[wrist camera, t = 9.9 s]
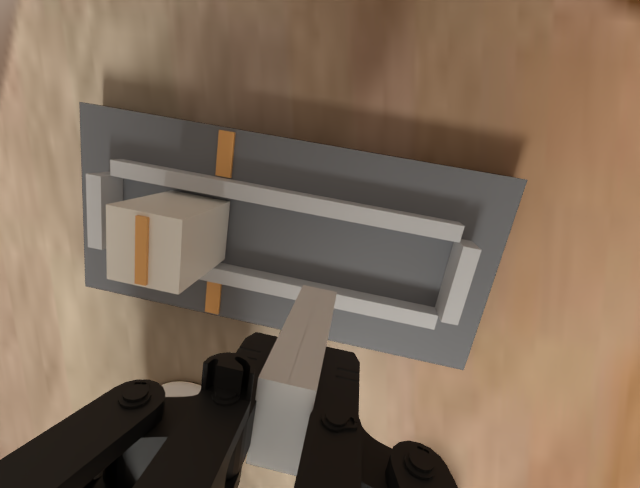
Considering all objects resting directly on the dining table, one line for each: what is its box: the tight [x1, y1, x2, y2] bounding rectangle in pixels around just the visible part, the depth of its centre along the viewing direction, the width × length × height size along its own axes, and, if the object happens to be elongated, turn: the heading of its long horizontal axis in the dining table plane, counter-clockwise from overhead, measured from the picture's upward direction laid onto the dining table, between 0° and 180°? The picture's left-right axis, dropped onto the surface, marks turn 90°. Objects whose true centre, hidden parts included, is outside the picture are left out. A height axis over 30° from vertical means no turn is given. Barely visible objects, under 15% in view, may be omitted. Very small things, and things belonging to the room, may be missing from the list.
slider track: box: [80, 102, 527, 370], centre depth 23 cm, size 13×28×4 cm, turn 80°
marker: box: [205, 130, 236, 315], centre depth 23 cm, size 13×1×1 cm, turn 170°
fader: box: [106, 190, 230, 295], centre depth 20 cm, size 4×4×6 cm
